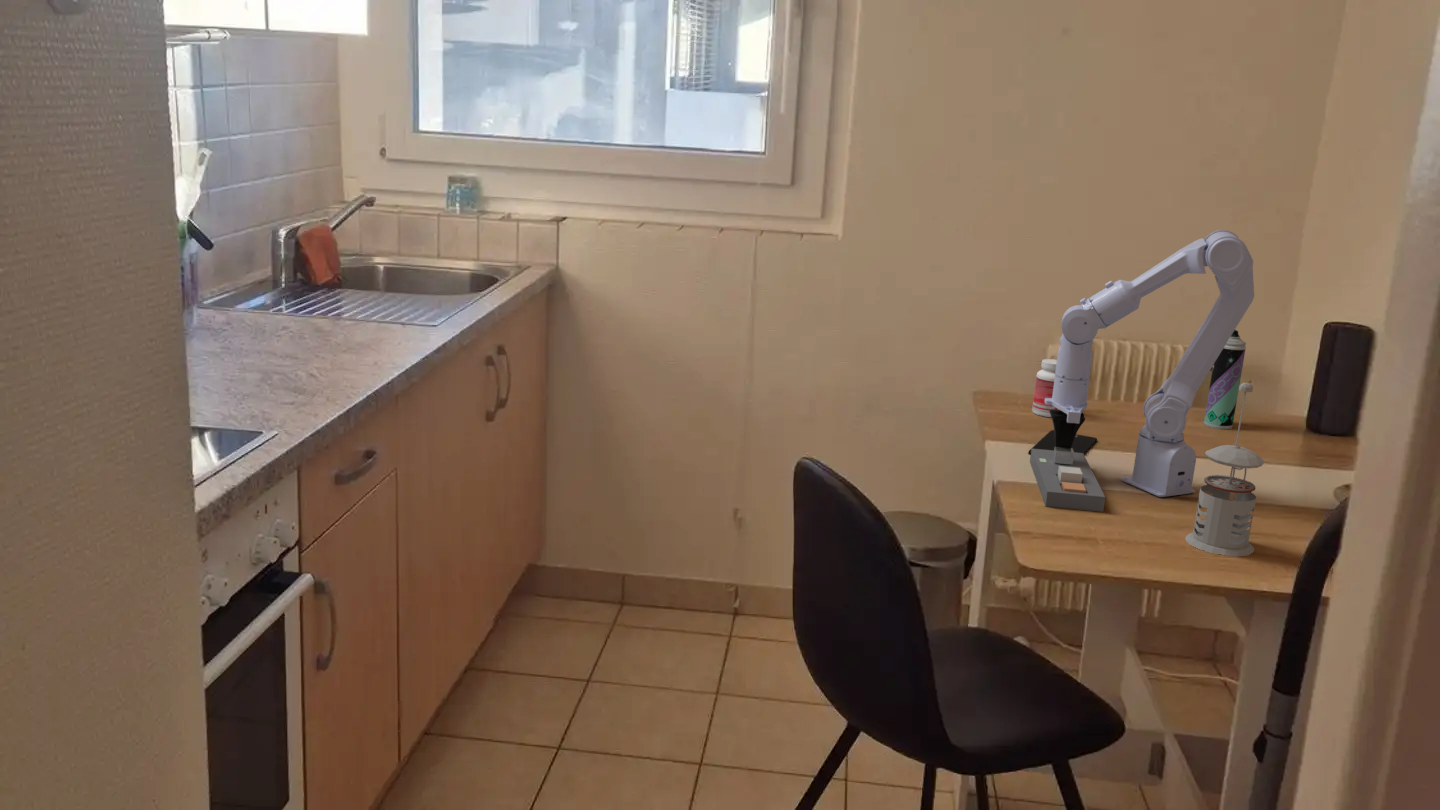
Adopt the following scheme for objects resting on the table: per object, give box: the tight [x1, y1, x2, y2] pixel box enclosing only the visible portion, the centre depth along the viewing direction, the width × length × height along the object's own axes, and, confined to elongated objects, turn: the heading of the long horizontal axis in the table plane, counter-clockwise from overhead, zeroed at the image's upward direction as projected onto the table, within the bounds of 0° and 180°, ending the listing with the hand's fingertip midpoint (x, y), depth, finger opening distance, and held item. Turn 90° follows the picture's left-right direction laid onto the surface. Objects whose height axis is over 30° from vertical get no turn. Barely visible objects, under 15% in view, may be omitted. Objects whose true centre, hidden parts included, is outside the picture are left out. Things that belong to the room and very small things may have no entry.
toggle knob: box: [1053, 447, 1074, 465], centre depth 215 cm, size 2×3×2 cm
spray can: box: [1203, 329, 1247, 430], centre depth 252 cm, size 6×6×20 cm
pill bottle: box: [1031, 358, 1059, 418], centre depth 255 cm, size 6×6×11 cm
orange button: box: [1061, 482, 1086, 493], centre depth 202 cm, size 3×3×2 cm
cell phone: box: [1027, 429, 1098, 456], centre depth 233 cm, size 9×18×1 cm, turn 152°
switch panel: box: [1029, 448, 1106, 513], centre depth 211 cm, size 24×9×3 cm, turn 172°
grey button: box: [1057, 466, 1083, 483], centre depth 206 cm, size 3×3×2 cm
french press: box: [1185, 382, 1265, 558], centre depth 185 cm, size 10×12×25 cm
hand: (1062, 452), depth 216 cm, fingers closed
